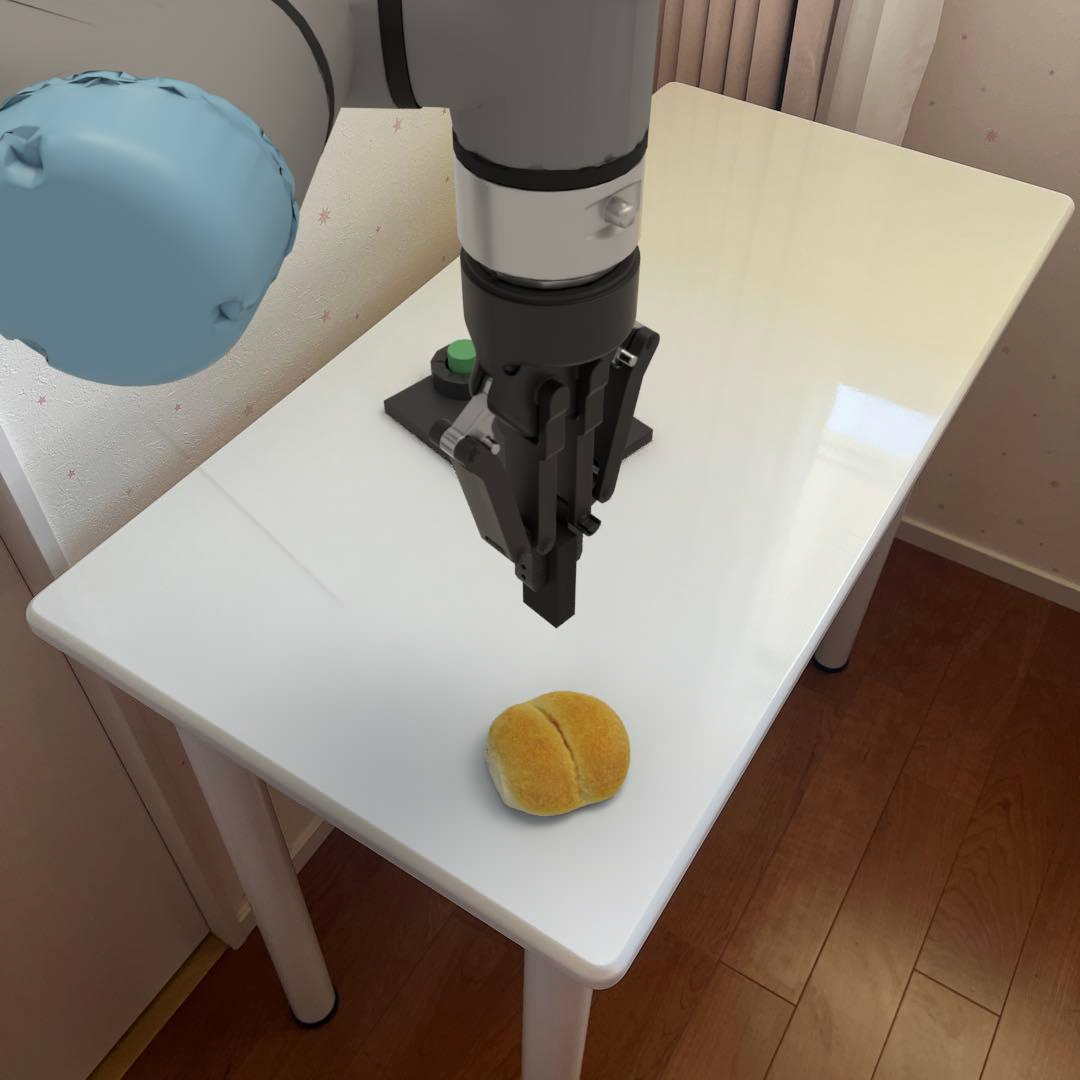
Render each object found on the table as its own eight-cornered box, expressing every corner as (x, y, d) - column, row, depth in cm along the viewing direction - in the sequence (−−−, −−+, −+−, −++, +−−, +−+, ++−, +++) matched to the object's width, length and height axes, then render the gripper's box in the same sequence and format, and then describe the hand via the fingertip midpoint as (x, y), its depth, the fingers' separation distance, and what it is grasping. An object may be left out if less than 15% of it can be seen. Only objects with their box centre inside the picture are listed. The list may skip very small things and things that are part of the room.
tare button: (441, 364, 94) (440, 348, 93) (466, 351, 95) (465, 334, 94) (463, 380, 92) (461, 363, 91) (488, 366, 94) (487, 349, 92)
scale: (382, 409, 94) (378, 381, 92) (505, 341, 100) (504, 314, 98) (527, 523, 85) (526, 495, 82) (652, 440, 91) (655, 412, 89)
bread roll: (649, 790, 69) (654, 755, 66) (515, 839, 66) (513, 805, 64) (596, 689, 74) (599, 652, 71) (470, 731, 72) (467, 695, 69)
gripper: (494, 348, 40) (509, 714, 58) (722, 217, 47) (674, 583, 64) (368, 267, 44) (418, 633, 61) (594, 155, 50) (582, 517, 68)
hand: (548, 607), depth 63 cm, fingers closed
